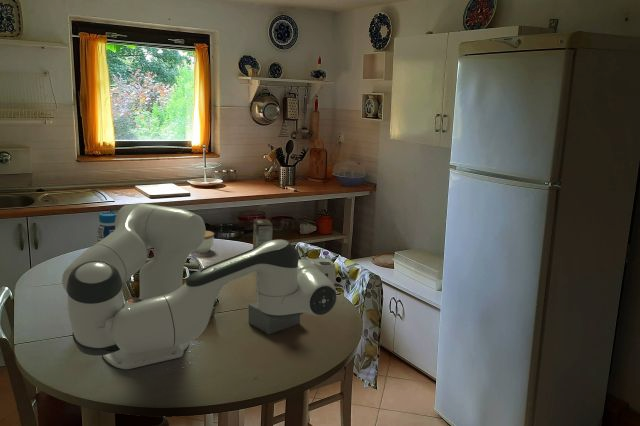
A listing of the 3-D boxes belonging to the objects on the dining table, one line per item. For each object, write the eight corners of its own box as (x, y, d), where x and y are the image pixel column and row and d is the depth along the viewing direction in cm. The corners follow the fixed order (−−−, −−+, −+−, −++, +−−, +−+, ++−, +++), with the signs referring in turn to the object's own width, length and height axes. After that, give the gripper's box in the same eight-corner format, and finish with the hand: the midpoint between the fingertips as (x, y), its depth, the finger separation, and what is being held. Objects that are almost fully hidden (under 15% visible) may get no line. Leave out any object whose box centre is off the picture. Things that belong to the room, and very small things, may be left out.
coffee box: (252, 256, 234) (252, 218, 230) (267, 255, 236) (268, 218, 232) (256, 263, 225) (257, 224, 221) (271, 262, 227) (272, 223, 223)
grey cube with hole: (269, 334, 162) (269, 308, 160) (248, 322, 169) (248, 298, 167) (299, 323, 170) (300, 299, 168) (278, 313, 177) (279, 289, 175)
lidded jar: (196, 256, 230) (195, 234, 228) (183, 249, 238) (183, 228, 236) (218, 252, 237) (218, 230, 235) (206, 246, 245) (206, 225, 243)
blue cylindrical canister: (100, 260, 219) (97, 211, 215) (122, 259, 221) (121, 211, 217) (97, 267, 211) (95, 216, 207) (121, 266, 214) (119, 216, 209)
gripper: (262, 292, 138) (250, 273, 150) (339, 286, 144) (322, 269, 157) (263, 268, 136) (251, 251, 149) (340, 263, 143) (323, 247, 156)
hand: (288, 260), depth 153 cm, fingers open, 8 cm apart
